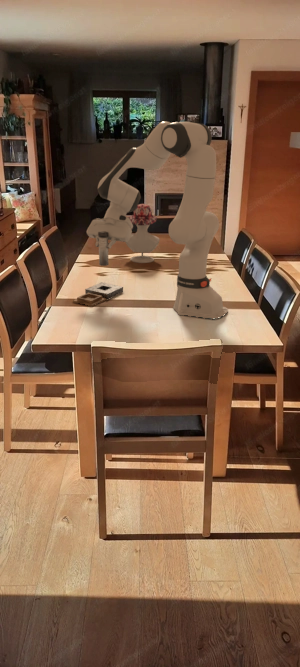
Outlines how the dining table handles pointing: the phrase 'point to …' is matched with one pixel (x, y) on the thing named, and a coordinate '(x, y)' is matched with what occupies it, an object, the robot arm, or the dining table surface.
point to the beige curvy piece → (142, 234)
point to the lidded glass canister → (103, 248)
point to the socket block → (105, 290)
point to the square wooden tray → (89, 299)
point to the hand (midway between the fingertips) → (102, 246)
